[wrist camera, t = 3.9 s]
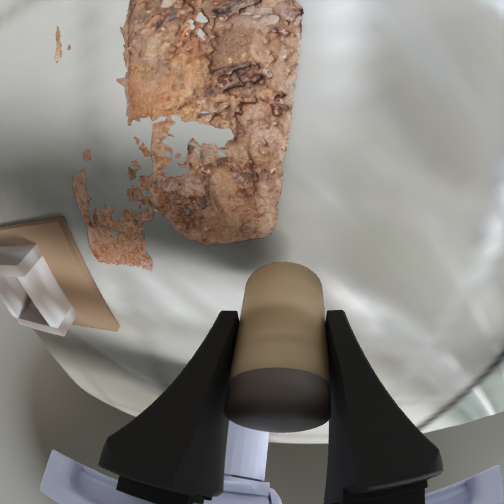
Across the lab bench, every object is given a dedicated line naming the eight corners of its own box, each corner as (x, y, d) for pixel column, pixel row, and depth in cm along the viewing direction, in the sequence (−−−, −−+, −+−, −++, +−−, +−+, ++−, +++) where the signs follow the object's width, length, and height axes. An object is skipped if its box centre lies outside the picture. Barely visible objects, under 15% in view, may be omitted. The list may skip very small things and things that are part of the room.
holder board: (119, 326, 20) (105, 355, 18) (24, 309, 22) (10, 329, 20) (63, 216, 14) (35, 244, 12) (-21, 231, 16) (-40, 250, 14)
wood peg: (319, 316, 14) (324, 432, 9) (249, 317, 14) (232, 429, 9) (324, 261, 12) (339, 396, 7) (240, 262, 12) (213, 393, 7)
